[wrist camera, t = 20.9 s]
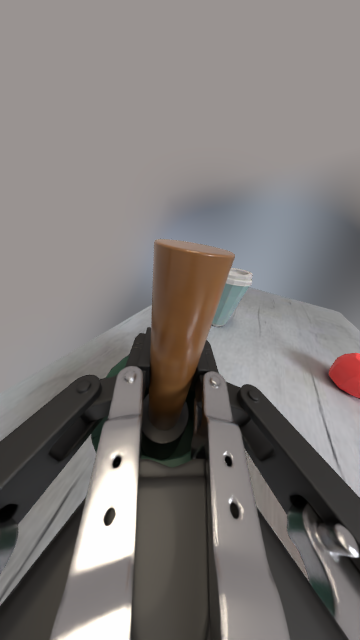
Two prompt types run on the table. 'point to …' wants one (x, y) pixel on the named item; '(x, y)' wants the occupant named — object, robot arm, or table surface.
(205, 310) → the brown and grey cylinder
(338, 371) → the apple
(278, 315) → the table surface
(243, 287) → the disposable coffee cup
